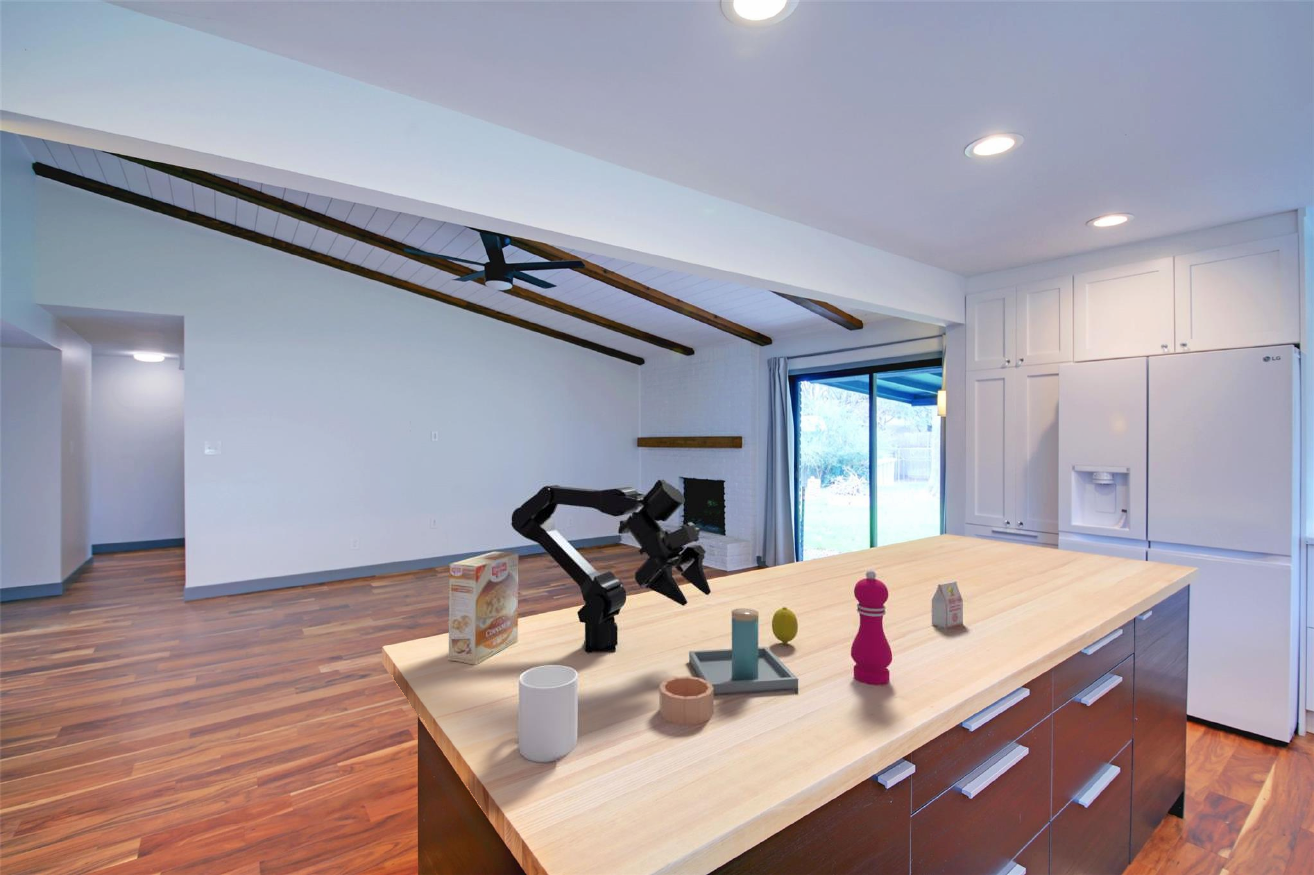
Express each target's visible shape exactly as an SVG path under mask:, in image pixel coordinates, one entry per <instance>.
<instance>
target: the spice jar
mask: <svg viewBox="0 0 1314 875" xmlns="http://www.w3.org/2000/svg"><path fill="white" fill-rule="evenodd" d="M758 647H759V611H758V610H756V609H752V608H744V607H743V608H742V607H741V608H735V609H733V610H731V649H732V680H733V681H742V680H757V679H759V666H758Z"/></svg>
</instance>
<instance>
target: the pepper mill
mask: <svg viewBox="0 0 1314 875" xmlns="http://www.w3.org/2000/svg"><path fill="white" fill-rule="evenodd" d="M865 576H866V578H865V577H864V578H863V579H860V580H859V581H857V582H856V584H855V586H854V589H853V593H854V598H855V599H856V600H857V602H858V603H856V607H857V608H856V611H857V613H858V614H859V627H858V630H857V633H856V635H855V637H854V639H853V641H852V644H851V649H850V656H851V659H852V660H853V662H854V663H855V664H854V665H853V677H854V678H855V679H856V680H857V681H859V682H861V683H863V684H867V685H874V686H881V685H882V686H883V685H887V684H888V683H890V680H891V678H890V670H889V668H888V667H889V666H890V665H891V664H892V661H893V654H892V652H893V651H892V649H891V646H890V643H889V641H888V639H887V637H886V635H885V632H884V628H883V626H884V625H883V619H884V616H885V615H886V614H887V613H886V609H887V608H886V606H885V603H886V602H887V601H888V599H889V589H888V587H887V585H886V584H885V583H884V582H883V581H881V580H880V579H877V574H876V572H875V571H874V570H870V569H869V570H867V571H866V573H865Z"/></svg>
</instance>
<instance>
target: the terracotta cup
mask: <svg viewBox="0 0 1314 875" xmlns="http://www.w3.org/2000/svg"><path fill="white" fill-rule="evenodd" d="M658 687H659V689H658V690H659V697H658V698H659V705H658V706H659V708H658V709H659V710H658V711H659V714H660V716H661V718H662V719H664V720H666V721H668V722H669V723H673V724H678V725H681V726H682V725H683V726H688V725H689V726H690V725H700V724H702V723H704V722H707V721H709V720H711V718H712V717H713V715H714V713H715V712H714V711H715V710H714V709H715V708H714V702H715V701H714V697H715V696H714V688H713V687H712V685H711V683H710V682H708V681H706V680H704V679H701V678H699V677H698V676H697V677H696V676H689V675H684V676H673V677H671V678H667V679H664V680H663V681H662V682H661V684H660V685H658Z"/></svg>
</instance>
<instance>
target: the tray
mask: <svg viewBox="0 0 1314 875" xmlns="http://www.w3.org/2000/svg"><path fill="white" fill-rule="evenodd" d="M688 658H689V659H688V663H689V664H690V665H691V667H692V668H693V670H694V672H695V674H696V676H697V678H701V679H704V680H706V681H708V682H710V683H711V685H712V687H713V688H714V697H715V696H730V695H731V696H733V695H745V694H748V695H749V694H761V693H770V692H771V693H772V692H787V691H788V692H789V691H792V692H794V693H795V694H799V678H798V677H797V676H796V675H795V674H794V673H793V672H792V671H791V670H790V669H789V668H788V667H787V666H786V664H784V663H783V661H781V660H780V659H779V657H777V656H776V655H775V653H773V651H771V649H769V648H768V647H767V646H758V666H759V679H757V680H742V681H733V680H732V648H724V649H723V648H722V649H705V650H704V649H703V650H689V651H688Z"/></svg>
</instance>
